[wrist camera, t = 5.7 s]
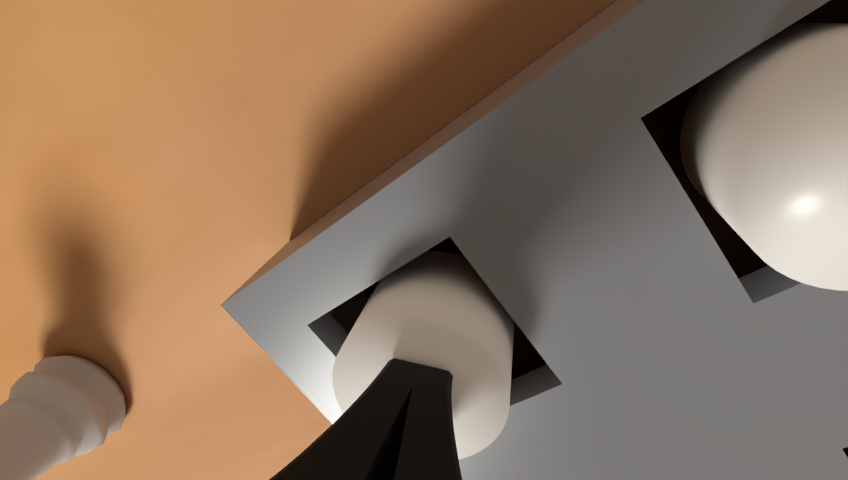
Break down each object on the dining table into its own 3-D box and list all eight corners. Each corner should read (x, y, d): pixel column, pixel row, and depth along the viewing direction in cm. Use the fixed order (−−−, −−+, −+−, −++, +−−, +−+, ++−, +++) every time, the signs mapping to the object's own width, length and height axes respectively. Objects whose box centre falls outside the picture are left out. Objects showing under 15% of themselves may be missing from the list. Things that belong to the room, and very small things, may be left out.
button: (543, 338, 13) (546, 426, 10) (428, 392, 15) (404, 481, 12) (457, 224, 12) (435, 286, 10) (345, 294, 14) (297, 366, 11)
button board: (1110, 414, 13) (1319, 558, 10) (561, 558, 20) (567, 675, 17) (860, -180, 10) (1051, -292, 6) (288, 242, 16) (220, 305, 13)
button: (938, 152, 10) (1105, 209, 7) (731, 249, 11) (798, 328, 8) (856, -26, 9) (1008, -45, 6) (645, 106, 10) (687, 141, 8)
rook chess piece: (62, 330, 21) (-187, 498, 13) (149, 397, 21) (-45, 591, 14) (29, 383, 22) (-204, 554, 15) (109, 442, 23) (-79, 633, 16)
